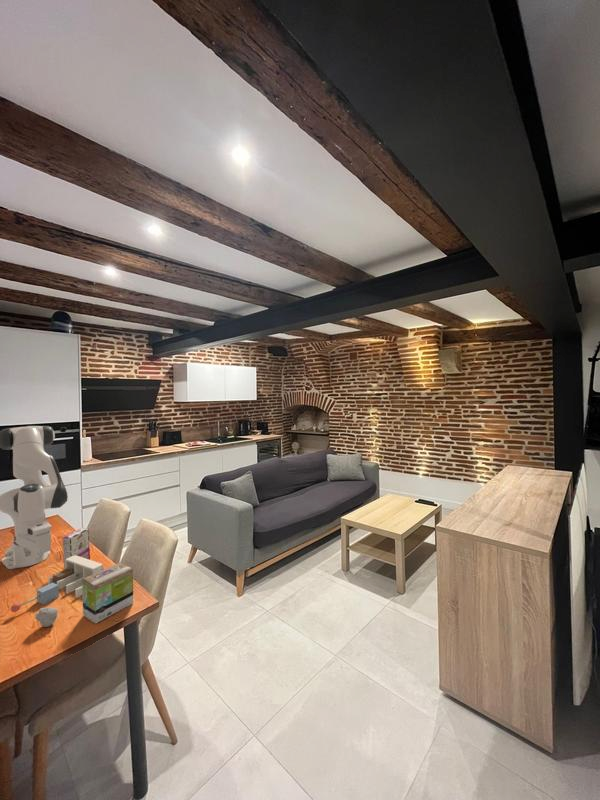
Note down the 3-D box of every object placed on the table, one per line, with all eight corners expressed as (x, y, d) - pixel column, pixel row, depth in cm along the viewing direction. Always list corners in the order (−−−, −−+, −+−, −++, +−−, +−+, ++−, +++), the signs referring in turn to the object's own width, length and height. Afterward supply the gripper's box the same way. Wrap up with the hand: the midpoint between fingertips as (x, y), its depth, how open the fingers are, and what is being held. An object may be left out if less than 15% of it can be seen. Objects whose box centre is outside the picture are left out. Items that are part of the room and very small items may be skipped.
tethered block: (8, 615, 133) (7, 603, 132) (53, 593, 147) (52, 582, 147) (14, 619, 131) (13, 606, 130) (58, 596, 145) (58, 584, 145)
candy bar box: (82, 558, 178) (81, 527, 177) (90, 559, 177) (89, 528, 176) (63, 570, 167) (62, 536, 166) (71, 570, 166) (70, 537, 165)
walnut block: (52, 585, 153) (52, 574, 153) (67, 579, 158) (66, 568, 158) (58, 588, 151) (58, 577, 151) (72, 581, 156) (72, 570, 156)
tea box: (96, 625, 126) (94, 585, 126) (82, 616, 131) (81, 578, 131) (134, 603, 139) (133, 567, 138) (120, 595, 144) (119, 561, 144)
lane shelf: (48, 585, 153) (47, 566, 153) (75, 573, 163) (75, 555, 163) (76, 597, 143) (75, 577, 143) (103, 583, 154) (103, 564, 154)
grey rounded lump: (33, 627, 126) (33, 608, 126) (56, 617, 131) (55, 599, 131) (37, 634, 122) (36, 615, 121) (61, 624, 127) (60, 605, 127)
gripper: (10, 523, 140) (11, 556, 141) (36, 532, 131) (36, 568, 131) (28, 518, 146) (29, 549, 146) (54, 527, 136) (55, 561, 137)
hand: (33, 558), depth 139 cm, fingers open, 8 cm apart
